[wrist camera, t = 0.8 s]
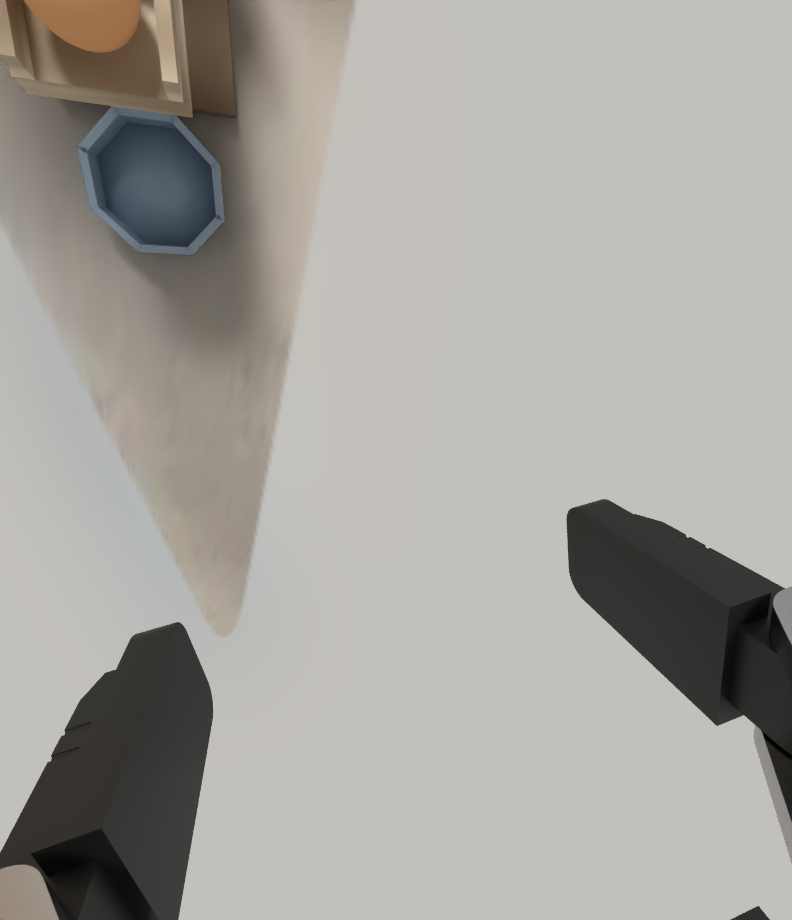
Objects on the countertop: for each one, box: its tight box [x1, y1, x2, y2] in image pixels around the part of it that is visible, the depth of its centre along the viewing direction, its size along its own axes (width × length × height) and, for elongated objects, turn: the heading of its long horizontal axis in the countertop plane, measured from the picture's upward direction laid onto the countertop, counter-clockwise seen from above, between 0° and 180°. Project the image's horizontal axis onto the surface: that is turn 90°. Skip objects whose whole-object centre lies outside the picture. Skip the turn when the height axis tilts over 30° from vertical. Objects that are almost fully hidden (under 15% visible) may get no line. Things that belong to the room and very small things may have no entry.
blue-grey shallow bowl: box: [77, 106, 225, 255], centre depth 26 cm, size 7×7×2 cm
